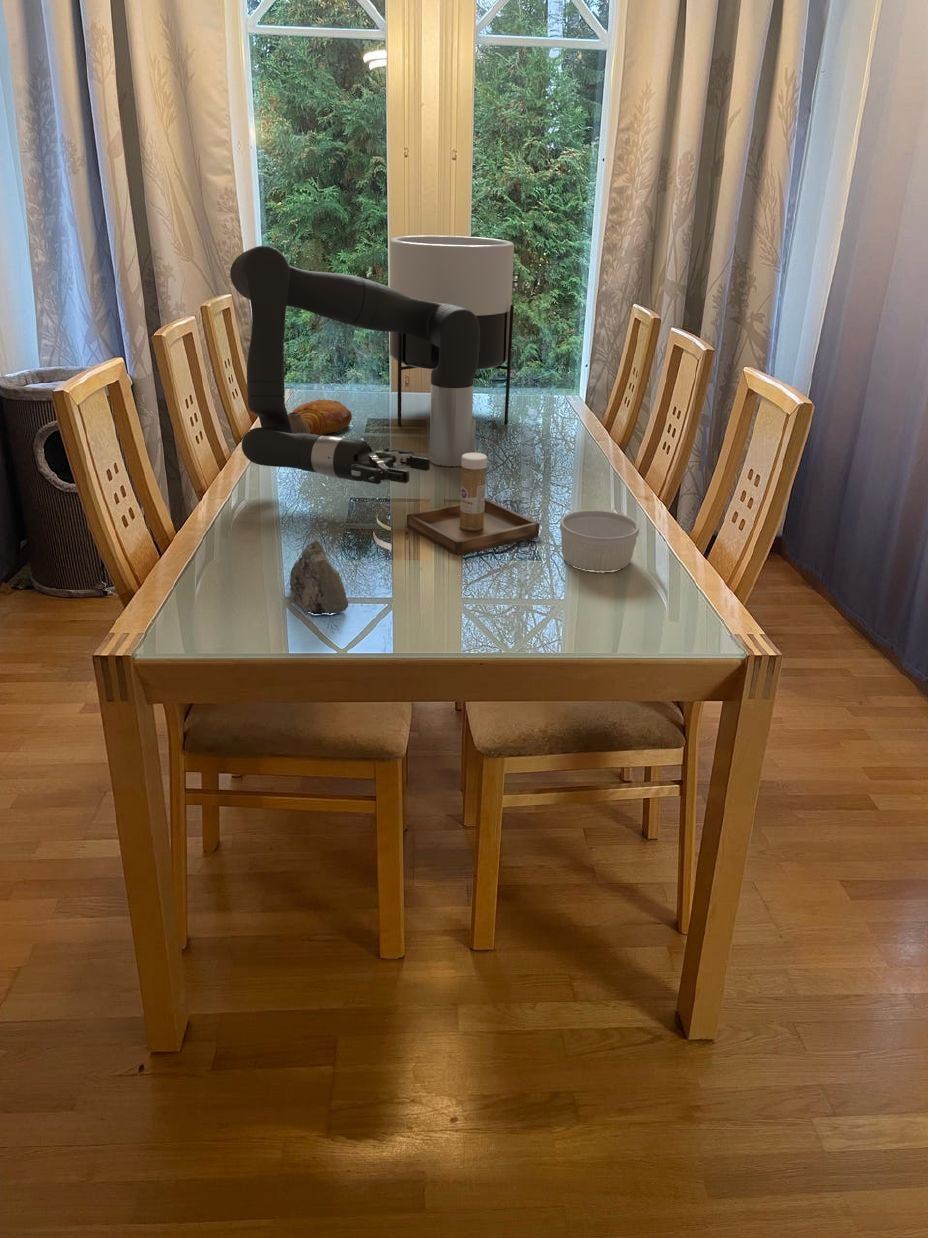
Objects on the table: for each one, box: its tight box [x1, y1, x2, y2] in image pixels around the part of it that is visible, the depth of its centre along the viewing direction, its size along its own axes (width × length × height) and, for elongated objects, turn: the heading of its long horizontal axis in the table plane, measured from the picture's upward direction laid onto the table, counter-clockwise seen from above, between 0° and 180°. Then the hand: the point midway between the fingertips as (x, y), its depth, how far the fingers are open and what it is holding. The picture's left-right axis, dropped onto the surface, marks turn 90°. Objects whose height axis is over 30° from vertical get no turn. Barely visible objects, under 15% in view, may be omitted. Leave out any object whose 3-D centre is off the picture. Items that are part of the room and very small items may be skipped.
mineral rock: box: [289, 540, 349, 614], centre depth 138 cm, size 13×11×10 cm
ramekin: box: [559, 509, 640, 571], centre depth 156 cm, size 13×13×7 cm
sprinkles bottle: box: [459, 452, 488, 531], centre depth 165 cm, size 5×5×14 cm
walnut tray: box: [406, 497, 540, 557], centre depth 167 cm, size 18×16×2 cm
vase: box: [288, 411, 311, 434], centre depth 208 cm, size 7×7×9 cm
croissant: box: [292, 398, 353, 436], centre depth 228 cm, size 14×16×8 cm
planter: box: [389, 235, 515, 427], centre depth 232 cm, size 31×31×43 cm
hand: (419, 470), depth 167 cm, fingers open, 8 cm apart
